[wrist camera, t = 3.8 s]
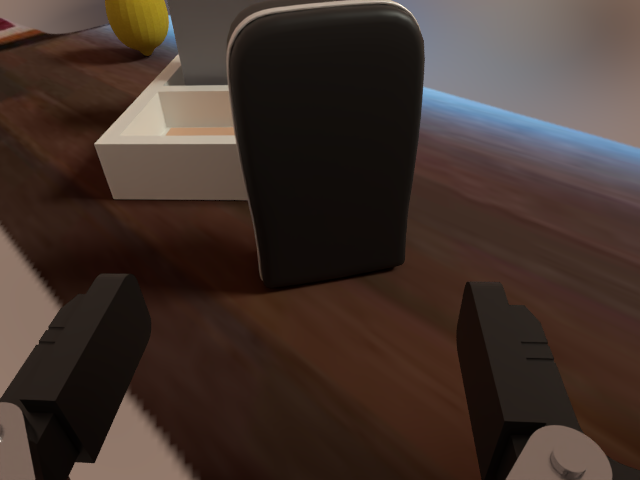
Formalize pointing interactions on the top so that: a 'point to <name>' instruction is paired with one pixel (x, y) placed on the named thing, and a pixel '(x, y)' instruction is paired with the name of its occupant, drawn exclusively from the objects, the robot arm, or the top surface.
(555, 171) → the top surface
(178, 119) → the dock
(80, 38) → the top surface
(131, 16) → the lemon
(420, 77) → the battery charger
